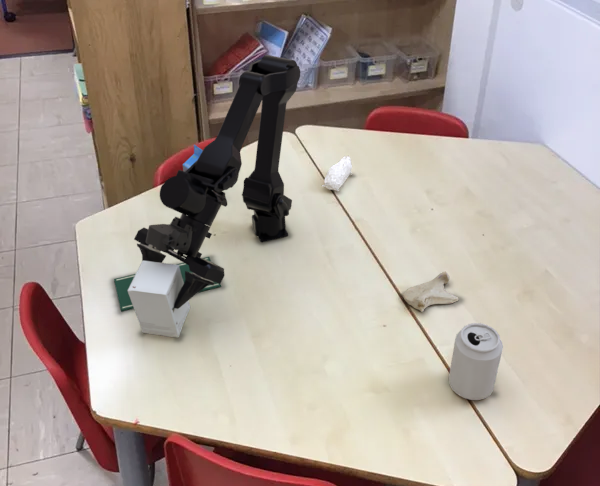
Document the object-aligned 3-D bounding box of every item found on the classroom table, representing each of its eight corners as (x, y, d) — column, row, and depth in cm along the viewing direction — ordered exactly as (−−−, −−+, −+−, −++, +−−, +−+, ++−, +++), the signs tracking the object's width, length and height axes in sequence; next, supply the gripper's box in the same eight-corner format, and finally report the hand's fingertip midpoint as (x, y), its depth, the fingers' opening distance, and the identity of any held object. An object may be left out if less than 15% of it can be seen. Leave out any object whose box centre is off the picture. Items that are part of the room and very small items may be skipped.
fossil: (465, 298, 131) (467, 285, 129) (419, 316, 127) (420, 303, 125) (443, 278, 136) (445, 265, 134) (399, 295, 132) (400, 281, 130)
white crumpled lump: (331, 176, 171) (318, 187, 162) (339, 151, 168) (326, 162, 159) (349, 183, 170) (337, 195, 161) (357, 158, 167) (345, 169, 158)
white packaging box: (179, 339, 124) (165, 296, 115) (141, 333, 125) (125, 290, 116) (192, 307, 129) (179, 263, 120) (156, 302, 130) (141, 259, 121)
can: (443, 370, 117) (450, 320, 110) (485, 367, 117) (496, 317, 110) (454, 405, 111) (463, 354, 103) (499, 401, 111) (511, 351, 104)
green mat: (209, 257, 143) (209, 256, 143) (221, 286, 135) (221, 285, 135) (114, 280, 138) (113, 278, 137) (121, 311, 130) (120, 310, 130)
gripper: (134, 190, 121) (95, 268, 120) (206, 226, 111) (164, 312, 110) (172, 207, 130) (136, 280, 130) (242, 243, 121) (204, 321, 120)
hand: (158, 297), depth 122 cm, fingers open, 9 cm apart
